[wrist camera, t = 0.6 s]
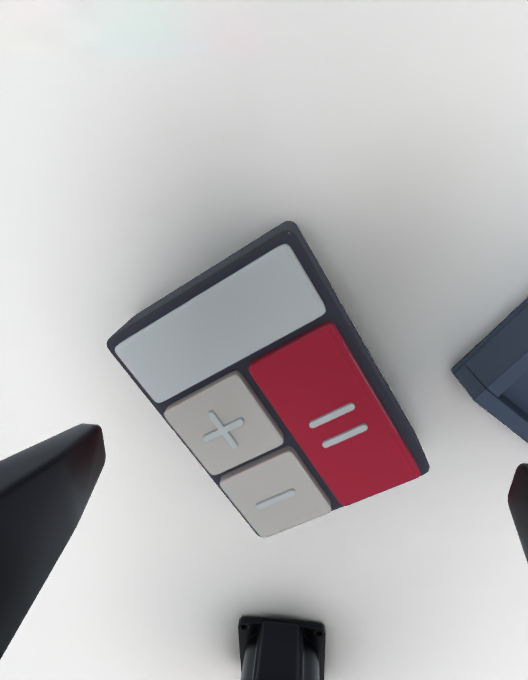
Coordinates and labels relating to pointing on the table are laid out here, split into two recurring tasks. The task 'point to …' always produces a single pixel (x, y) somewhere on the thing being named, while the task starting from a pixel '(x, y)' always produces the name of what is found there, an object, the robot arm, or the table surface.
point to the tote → (501, 372)
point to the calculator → (271, 386)
